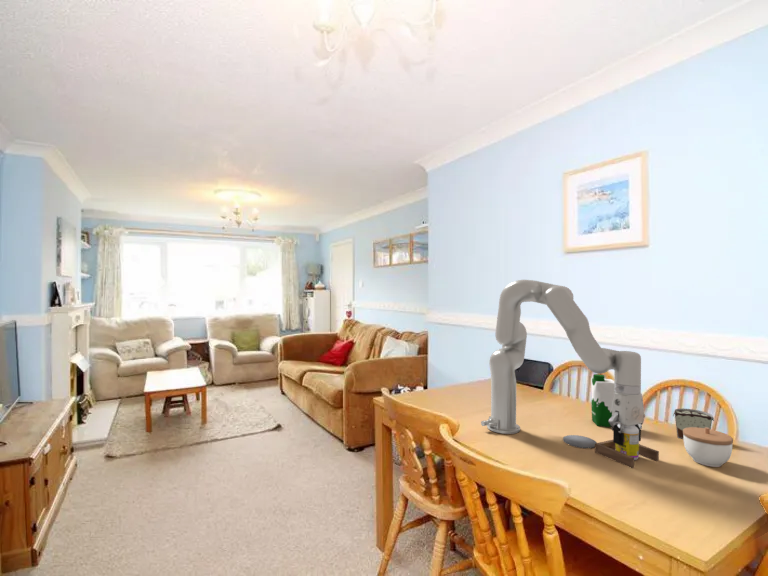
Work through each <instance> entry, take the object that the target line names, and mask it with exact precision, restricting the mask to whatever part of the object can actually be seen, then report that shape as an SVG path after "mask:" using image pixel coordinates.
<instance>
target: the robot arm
mask: <svg viewBox="0 0 768 576" xmlns="http://www.w3.org/2000/svg"><path fill="white" fill-rule="evenodd" d="M527 302H534V303H537V304H542V305H544V306H545V305H546V306H547V308H548V309H549V310H550V312H551V313H552V314H553V316H554V318H556V320H557V322H558V323H559V324H560V326H561V327H562V328H563V331H565V333H566V336H567V338H568V340H569V342H570V344H571V346H572V347H573V349H574V351H575V353H576V354H577V356H578V357H579V358H580V360H581V361H582V362H583V364H584V365H585V367H586V368H587V369H588V370H589V371H591V372H592V373H594V374H600V375H603V374H605V373H608V371H610V370H613V371H614V375H613V376H614V378H613V381H614V392H615V393H614V398H613V406H612V417H611V418H610V419H609V423H610V425H611V427H610V428H611V430H612V432H613V433H612V434H613V435H612V436H613V439H612V440H613V442H614V443H616V444H619V445H624V433H622V431H623V429H624V426H632V425H635V426H636V427H637V428H638V429H639V442H641V441H642V429H643V424H644V422H645V418H646V414H645V406H644V399H643V394H642V385H641V384H642V356H641V355H640V353H638V352H636V351H631V350H616V349H610V348H605V347H601V345H600V344H599V343H598V341H597V340H596V338H595V337H594V335H593V334H592V331H591V328H590V323H589V322H590V321H589V320H588V317H587V316H586V315H585V314H584V312H583V311H582V310H581V308H580V307H579V306H578V304H577V303H576V302H575V300H574V294H573V292H572V290H571V289H570V288H568V287H567V286H565V285H559V284H553V283H548V282H543V281H539V280H533V279H517V280H515V281H512V282H510V283H508V284H507V285H505V287H504V288H503V289H502V291H501V293H500V295H499V301H498V309H497V317H496V325H495V334H494V335H495V340H496V341H497V343H498V344H500V345H501V348H499V349H497V350H495V351H494V352H493V353H492V354H491V356H490V358H489V371H490V379H491V380H490V390H491V391H490V393H491V394H490V395H491V396H490V398H491V399H490V400H491V401H490V403H491V404H490V416H488V419H487V420H481V421H480V425H481V426H482V427H487V429H488V430H490V431H491V432H493V433H497V434H501V435H502V434H503V435H504V434H505V435H514V434H517V433H519V432H521V426H520V425H519V424H517V378H516V370H517V369H519V368H520V367H521V366H522V365H523V363H524V360H525V353H526V347H527V335H528V333H527V329H526V327H525V325H524V324H523V323H522V321H520V320H521V314H522V310H521V309H522V307H521V305H522V303H527ZM620 421H621V423H620ZM618 425H620V428H619V427H618Z"/></svg>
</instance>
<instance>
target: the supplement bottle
mask: <svg viewBox="0 0 768 576" xmlns="http://www.w3.org/2000/svg"><path fill="white" fill-rule="evenodd" d="M620 423H621V421H620ZM618 427H619V428H620V425H618ZM622 433H624V445H619V444H615V450H616V451H619V452H621V453H624V454H626V455H629V456H631V457H634V461H637V460H638V459H639V456H640V455H639V444H640V441H639V429H638V428H637V427H636V426H635V425H632V426H624V429H623V431H622Z"/></svg>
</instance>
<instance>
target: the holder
mask: <svg viewBox="0 0 768 576" xmlns="http://www.w3.org/2000/svg"><path fill="white" fill-rule="evenodd" d="M615 444H616V443H614V442H613V439H609V440H605V441H600V442H597V443H595V448H594V453H595V454H597V455H600V456H602V457H605V458H607V459H610V460H612V461H614V462H616V463H619V464H621V465H623V466H626V467H628V468H630V467H631V468H630V469H632V468H633V469H634V467H635V460H634V457H631V456H629V455H626V454H624V453H621V452H619V451H616V450H615ZM659 454H660V451H658V450H657V449H654V448H651V447H649V446H645V445H643V444H640V443H639V456H641V457H645V458H647V459H650V460H653V461H655V462H658V461H660V459H659V458H660V455H659Z"/></svg>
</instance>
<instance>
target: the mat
mask: <svg viewBox="0 0 768 576" xmlns="http://www.w3.org/2000/svg"><path fill="white" fill-rule="evenodd" d="M562 441H563V443H565V444H566V445H568V444H569V445H568V446H571V447H574V448H579V449H586V450H587V449H595V443H598V442H597V441H596V440H594V438H590V437H587V436H583V435H578V434H577V435H576V434H569V435H565V436H563V437H562Z"/></svg>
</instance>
